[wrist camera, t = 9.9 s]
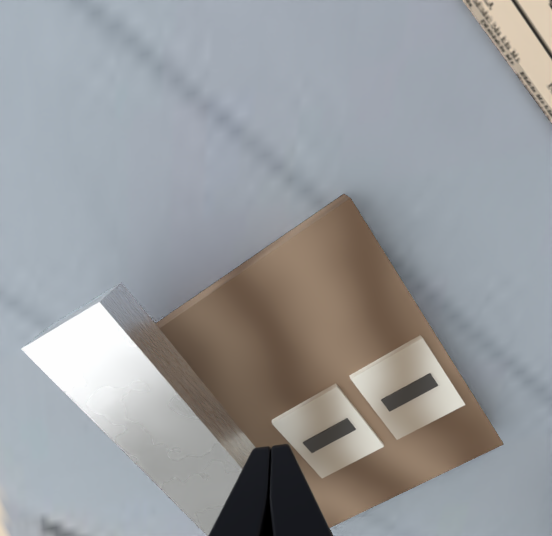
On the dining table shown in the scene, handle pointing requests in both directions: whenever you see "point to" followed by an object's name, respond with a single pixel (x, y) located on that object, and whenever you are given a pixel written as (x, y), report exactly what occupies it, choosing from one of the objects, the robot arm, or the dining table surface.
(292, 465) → the robot arm
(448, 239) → the dining table surface
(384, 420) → the label board
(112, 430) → the swing bar
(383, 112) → the dining table surface
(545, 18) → the beige long curved strip
